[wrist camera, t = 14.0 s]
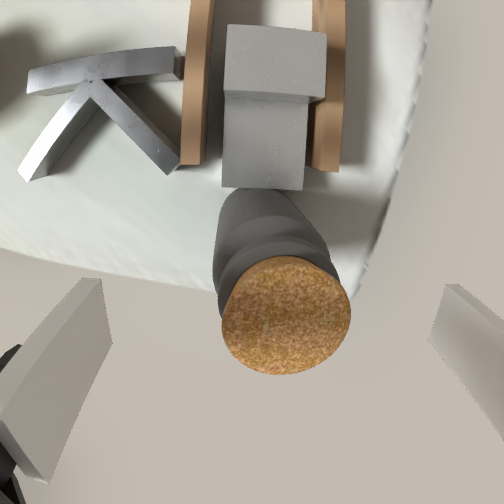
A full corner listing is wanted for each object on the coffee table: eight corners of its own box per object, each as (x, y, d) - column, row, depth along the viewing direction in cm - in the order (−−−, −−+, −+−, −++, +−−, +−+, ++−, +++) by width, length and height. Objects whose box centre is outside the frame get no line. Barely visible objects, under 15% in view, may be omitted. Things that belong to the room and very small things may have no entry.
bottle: (284, 259, 26) (336, 388, 12) (213, 247, 26) (197, 377, 12) (300, 190, 24) (388, 263, 10) (226, 176, 24) (218, 234, 10)
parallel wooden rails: (203, -25, 18) (198, -52, 13) (326, -15, 18) (343, -38, 14) (189, 159, 23) (180, 164, 19) (320, 165, 24) (338, 172, 20)
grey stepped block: (228, 54, 20) (227, 24, 14) (301, 59, 21) (326, 33, 14) (222, 181, 24) (219, 198, 17) (294, 184, 24) (317, 202, 18)
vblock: (39, 76, 19) (21, 72, 16) (192, 56, 20) (187, 45, 17) (37, 176, 22) (18, 182, 20) (187, 170, 23) (181, 175, 21)
